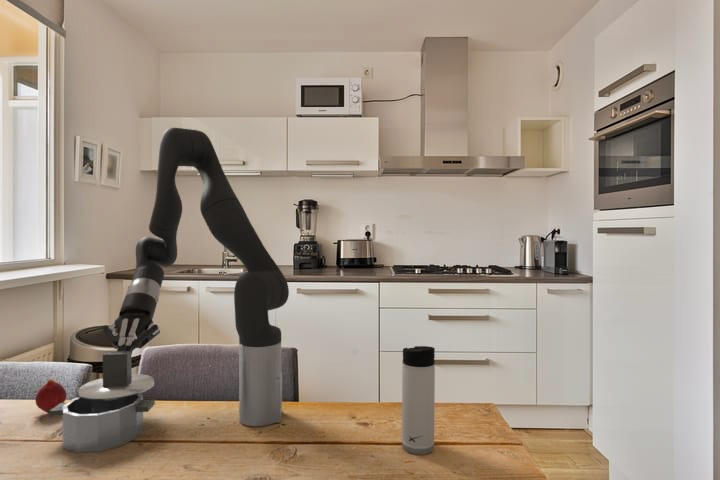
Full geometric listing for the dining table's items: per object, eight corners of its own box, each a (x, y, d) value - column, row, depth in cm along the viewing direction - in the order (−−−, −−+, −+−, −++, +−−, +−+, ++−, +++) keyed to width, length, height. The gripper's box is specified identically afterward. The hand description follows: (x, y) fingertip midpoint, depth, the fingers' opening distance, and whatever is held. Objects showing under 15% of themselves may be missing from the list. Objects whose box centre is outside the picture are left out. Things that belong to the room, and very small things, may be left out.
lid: (162, 376, 106) (162, 343, 106) (140, 399, 91) (139, 361, 91) (97, 378, 104) (97, 345, 104) (63, 402, 89) (63, 363, 89)
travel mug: (414, 459, 82) (415, 351, 82) (395, 443, 88) (396, 343, 88) (441, 451, 85) (442, 347, 85) (421, 437, 91) (422, 340, 91)
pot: (162, 418, 99) (162, 387, 99) (138, 449, 85) (138, 413, 85) (73, 422, 97) (73, 390, 97) (34, 454, 83) (34, 417, 83)
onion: (72, 408, 105) (72, 375, 104) (53, 419, 99) (52, 383, 99) (49, 407, 105) (49, 374, 105) (29, 417, 100) (28, 382, 99)
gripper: (108, 291, 108) (83, 356, 96) (165, 290, 109) (147, 354, 97) (117, 309, 113) (95, 372, 101) (171, 308, 115) (155, 370, 103)
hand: (120, 363), depth 99 cm, fingers closed
